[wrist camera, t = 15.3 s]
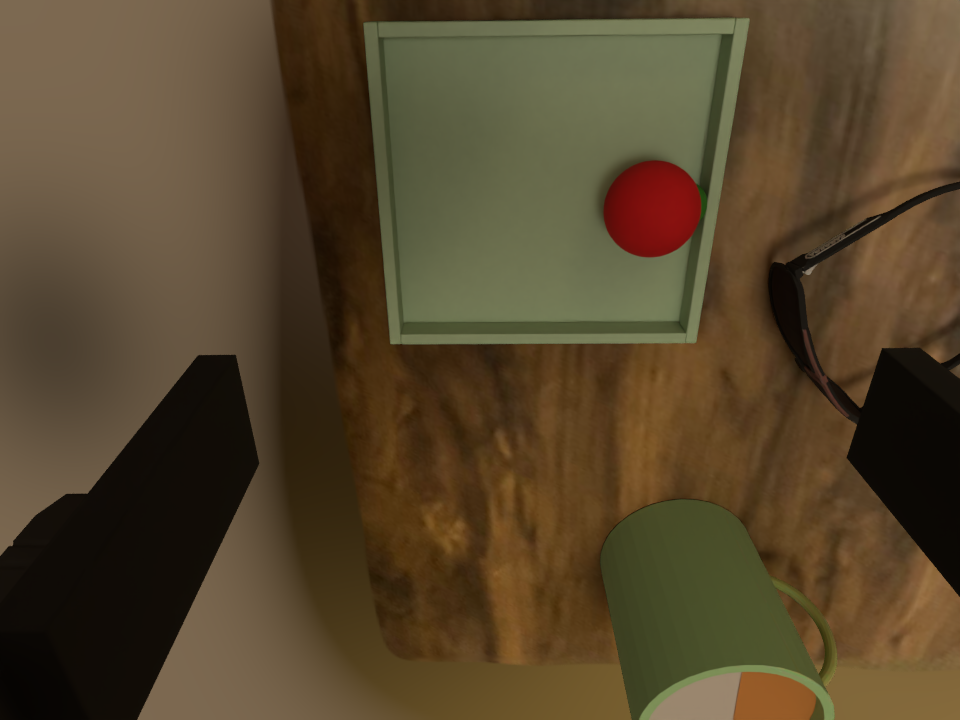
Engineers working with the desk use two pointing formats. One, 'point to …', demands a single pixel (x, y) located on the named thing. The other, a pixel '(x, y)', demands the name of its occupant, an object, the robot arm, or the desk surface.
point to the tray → (542, 172)
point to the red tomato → (653, 208)
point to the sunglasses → (793, 309)
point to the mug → (707, 621)
